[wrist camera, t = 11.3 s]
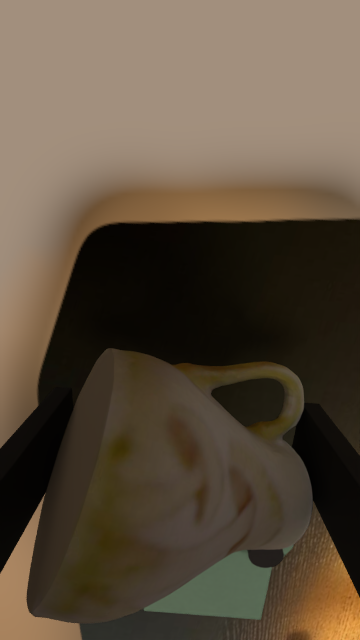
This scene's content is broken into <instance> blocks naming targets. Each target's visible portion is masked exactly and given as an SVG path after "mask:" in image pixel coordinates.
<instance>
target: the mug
mask: <svg viewBox="0 0 360 640" xmlns="http://www.w3.org/2000/svg"><path fill="white" fill-rule="evenodd" d="M258 378H271V379H275V380H277V381H279V382H280V383H281V384H282V385H283V388H284V390H285V396H284V402H283V408H282V410H281V413H280V415H279V416H278V417H277V419H275V420H273V421H267V422H258V423H255V424H252V425H250V426H248V427H245V426H243V425H242V424H240V423H239V422H238V421H237V420H236V419H235V418H234V417H232V416H231V415H230V414H229V413H228V412H227V411H226V410H225V409H224V408H223V407H222V406H221V405H220V404H219V403H218V402H217V401H216V400H215V399H214V398H213V397H212V396H211V392H212V390H213V389H214V388H217V387H220V386H224V385H229V384H233V383H237V382H241V381H245V380H249V379H258ZM303 410H304V393H303V387H302V384H301V382H300V380H299V378H298V377H297V376H296V375H295V374H294V373H293V372H292V371H291V370H289V369H288V368H287V367H285V366H282V365H279V364H276V363H273V362H252V363H245V364H237V365H230V366H202V365H193V364H190V363H180V364H177V365H171V364H169V363H167V362H165V361H162V360H160V359H158V358H155V357H153V356H150V355H147V354H143V353H138V352H133V351H124V350H118V349H112V348H110V349H107V350H105V351H104V353H103V354H102V355H101V356H100V358H99V359H98V360H97V361H96V363H95V365H94V367H93V369H92V371H91V373H90V374H89V376H88V378H87V380H86V382H85V384H84V386H83V388H82V390H81V392H80V394H79V397H78V398H77V401H76V404H75V406H74V409H73V411H72V414H71V416H70V419H69V422H68V424H67V428H66V430H65V433H64V436H63V439H62V442H61V445H60V448H59V451H58V454H57V457H56V460H55V464H54V467H53V470H52V474H51V477H50V480H49V483H48V487H47V490H46V493H45V497H44V501H43V505H42V510H41V515H40V520H39V525H38V530H37V535H36V540H35V545H34V551H33V556H32V562H31V568H30V575H29V581H28V589H27V606H28V609H29V612H30V613H31V614H32V615H33V616H35V617H44V618H50V619H54V620H59V621H64V622H71V623H99V622H106V621H111V620H114V619H117V618H120V617H123V616H126V615H129V614H132V613H135V612H137V611H139V610H141V609H143V608H145V607H147V606H149V605H151V604H153V603H155V602H157V601H158V600H160V599H162V598H164V597H166V596H167V595H169V594H171V593H172V592H174V591H176V590H177V589H179V588H180V587H182V586H183V585H185V584H186V583H188V582H189V581H191V580H192V579H193V578H195V577H196V576H198V575H199V574H201V573H202V572H204V571H205V570H207V569H208V568H210V567H211V566H213V565H214V564H216V563H217V562H219V561H220V560H222V559H223V558H225V557H227V556H228V555H230V554H232V553H234V552H237V551H242V550H260V549H265V550H276V549H283V548H287V547H290V546H292V545H293V544H295V543H296V542H297V541H298V540H299V539H300V538H301V537H302V536H303V534H304V532H305V531H306V529H307V527H308V525H309V522H310V518H311V513H312V508H313V495H312V486H311V482H310V478H309V475H308V472H307V469H306V467H305V465H304V463H303V461H302V459H301V458H300V456H299V455H298V454H297V453H296V452H295V450H294V449H293V448H292V447H291V446H290V445H289V444H288V443H287V442H285V441H284V440H283V439H282V438H283V435H284V434H285V433H286V432H287V431H289V430H290V429H291V428H292V427H294V426H296V425H297V423H298V422H299V420H300V418H301V415H302V413H303Z"/></svg>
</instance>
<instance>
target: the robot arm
mask: <svg viewBox="0 0 360 640" xmlns="http://www.w3.org/2000/svg"><path fill="white" fill-rule="evenodd" d="M72 411H73V399H72V388H56V387H55V388H54V389H53V390H52V391H51V392H50V393H49V395H48V396H47V397H46V398H45V399H44V400H43V401H42V402H41V404H40V405H39V406H38V407H37V408H36V409H35V410H34V411H33V413H32V414H31V415H30V416H29V417H28V418H27V419H26V420H25V422H24V423H23V424H22V425H21V426H20V427H19V428H18V430H16V432H15V433H14V434H13V435H12V436H11V437H10V438H9V439H8V441H7V442H6V443H5V444H4V445H3V446H2V447H1V448H0V573H1V571H2V570H3V568H4V566H5V564H6V562H7V560H8V559H9V557H10V555H11V553H12V551H13V550H14V548H15V546H16V544H17V543H18V541H19V539H20V537H21V536H22V534H23V532H24V530H25V528H26V526H27V525H28V523H29V521H30V519H31V518H32V516H33V514H34V512H35V510H36V509H37V507H38V505H39V503H40V502H41V500H42V498H43V496H44V494H45V493H46V490H47V487H48V483H49V480H50V477H51V474H52V470H53V467H54V464H55V460H56V457H57V454H58V451H59V448H60V445H61V442H62V439H63V436H64V433H65V430H66V428H67V424H68V422H69V419H70V416H71V414H72ZM292 448H293V449H294V450H295V452H296V453H297V454H298V455H299V456H300V458H301V459H302V461H303V463H304V465H305V467H306V469H307V472H308V475H309V478H310V482H311V486H312V495H313V501H314V503H315V505H316V507H317V509H318V511H319V513H320V515H321V517H322V519H323V522H324V524H325V526H326V528H327V530H328V532H329V534H330V536H331V538H332V540H333V542H334V545H335V547H336V549H337V551H338V553H339V555H340V557H341V559H342V561H343V563H344V565H345V568H346V570H347V572H348V574H349V576H350V578H351V580H352V582H353V584H354V586H355V588H356V591H357V593H358V595H359V597H360V456H359V454H358V453H357V452H356V451H355V449H354V448H353V447H352V446H351V444H350V443H349V442H348V440H347V439H346V438H345V437H344V435H343V434H342V433H341V432H340V430H339V429H338V428H337V426H336V425H335V424H334V423H333V421H332V420H331V419H330V418H329V416H328V415H327V414H326V413H325V411H324V410H323V409H322V407H321V406H320V405H319V404H313V403H304V410H303V413H302V415H301V418H300V420H299V422H298V423H297V426H296V430H295V435H294V440H293V444H292Z"/></svg>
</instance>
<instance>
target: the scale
mask: <svg viewBox="0 0 360 640" xmlns="http://www.w3.org/2000/svg"><path fill="white" fill-rule="evenodd" d="M292 548H293V545H292V546H290V547H287V548H283V553H284V556H285V555H286V554H287V553H288V552H289V551H290V550H291V549H292ZM271 570H272V567H270V568H261V567H258V566H255V565H254V564H252V563H251V561H250V560H249V557H248V551H247V550H242V551H237V552H234V553H232V554H230V555H228V556H227V557H225V558H223V559H222V560H220V561H219V562H217V563H216V564H214V565H213V566H211V567H210V568H208V569H207V570H205V571H204V572H202V573H201V574H199V575H198V576H196V577H195V578H193V579H192V580H191V581H189V582H188V583H186V584H185V585H183V586H182V587H180V588H179V589H177V590H176V591H174V592H172V593H171V594H169V595H167V596H166V597H164V598H162V599H160V600H158V601H157V602H155V603H153V604H151V605H149V606H147V607H145V608H144V611H155V612H168V613H181V614H194V615H207V616H220V617H233V618H246V619H259V620H260V619H261V616H262V611H263V607H264V602H265V598H266V593H267V588H268V584H269V579H270V575H271Z"/></svg>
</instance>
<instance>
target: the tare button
mask: <svg viewBox="0 0 360 640" xmlns="http://www.w3.org/2000/svg"><path fill="white" fill-rule="evenodd" d="M247 551H248V557H249V560H250V561H251V563H252V564H254V565H255V566H258V567H261V568H270V567H274V566H276V565H278V564H279V563H280V562H281V561H282V560H283V557H284V553H283V549H276V550H265V549H260V550H247Z"/></svg>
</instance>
